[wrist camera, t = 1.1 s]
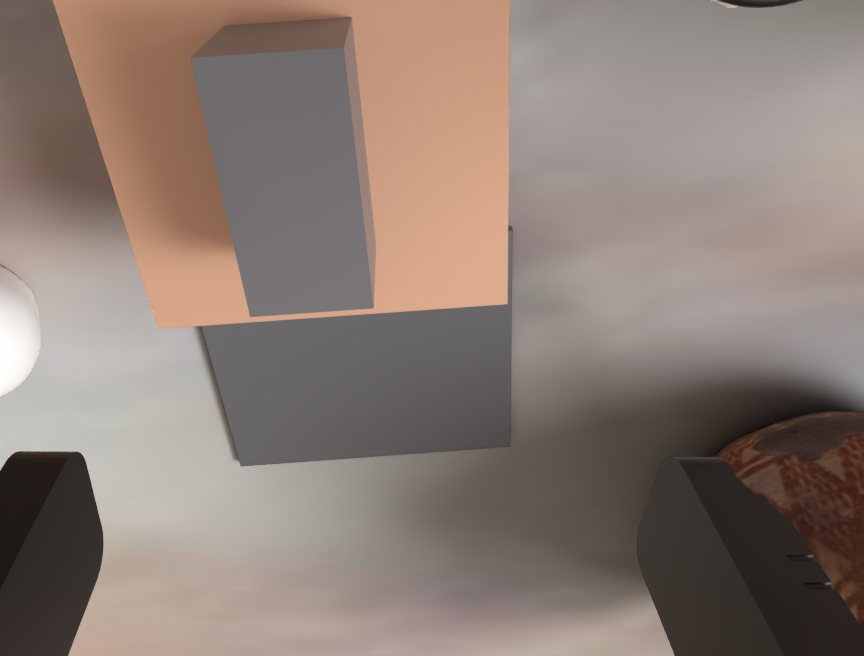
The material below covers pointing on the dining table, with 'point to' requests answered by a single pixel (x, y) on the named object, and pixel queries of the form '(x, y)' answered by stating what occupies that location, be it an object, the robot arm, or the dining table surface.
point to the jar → (753, 3)
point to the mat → (366, 383)
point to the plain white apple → (17, 331)
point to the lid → (303, 151)
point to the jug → (813, 488)
